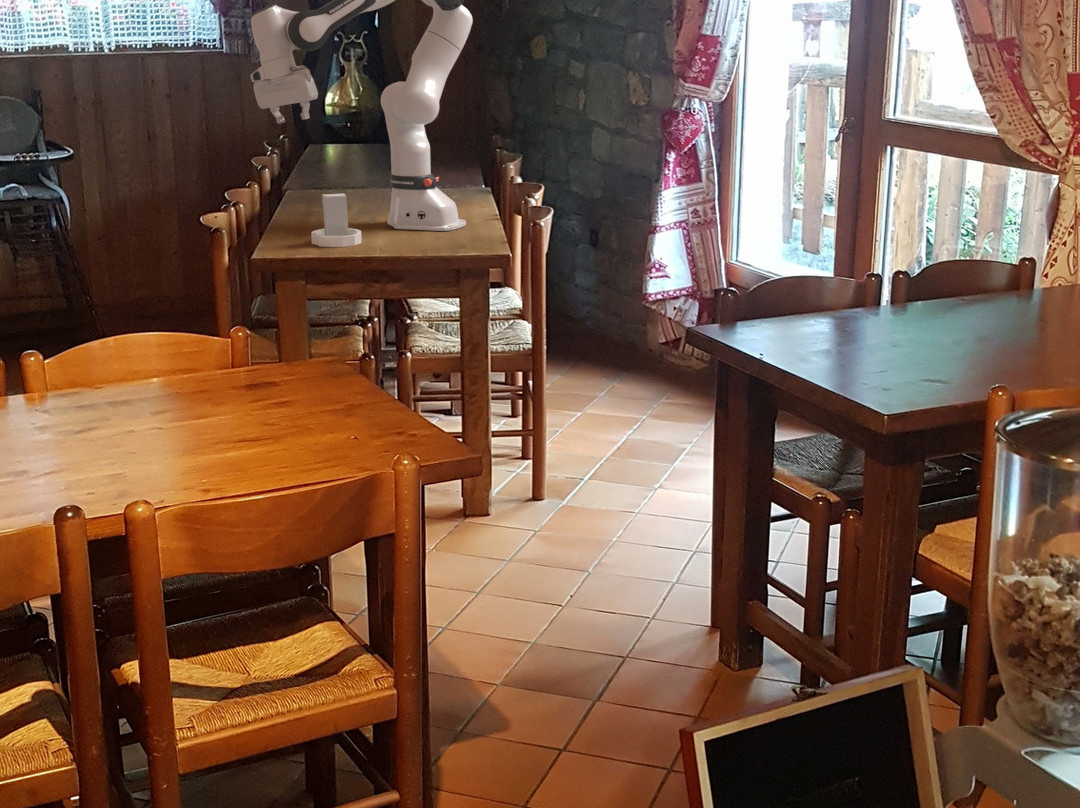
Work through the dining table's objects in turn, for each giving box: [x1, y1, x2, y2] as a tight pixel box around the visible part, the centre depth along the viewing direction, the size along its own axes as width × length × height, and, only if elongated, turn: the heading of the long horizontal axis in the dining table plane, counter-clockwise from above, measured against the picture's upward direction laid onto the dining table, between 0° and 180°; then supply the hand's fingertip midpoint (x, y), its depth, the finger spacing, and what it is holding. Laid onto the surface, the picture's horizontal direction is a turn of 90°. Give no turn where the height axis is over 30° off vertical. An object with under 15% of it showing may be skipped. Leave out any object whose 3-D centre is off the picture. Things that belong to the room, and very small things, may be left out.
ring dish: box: [310, 227, 363, 248], centre depth 327 cm, size 13×13×3 cm
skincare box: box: [321, 193, 349, 237], centre depth 324 cm, size 6×4×12 cm
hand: (293, 121), depth 335 cm, fingers open, 8 cm apart
